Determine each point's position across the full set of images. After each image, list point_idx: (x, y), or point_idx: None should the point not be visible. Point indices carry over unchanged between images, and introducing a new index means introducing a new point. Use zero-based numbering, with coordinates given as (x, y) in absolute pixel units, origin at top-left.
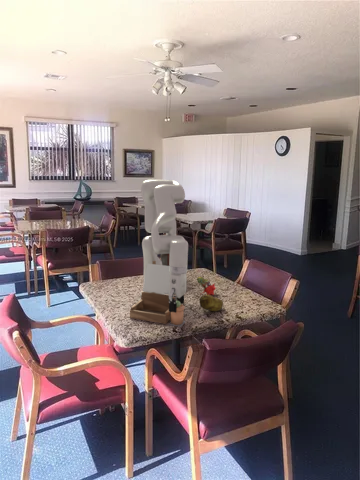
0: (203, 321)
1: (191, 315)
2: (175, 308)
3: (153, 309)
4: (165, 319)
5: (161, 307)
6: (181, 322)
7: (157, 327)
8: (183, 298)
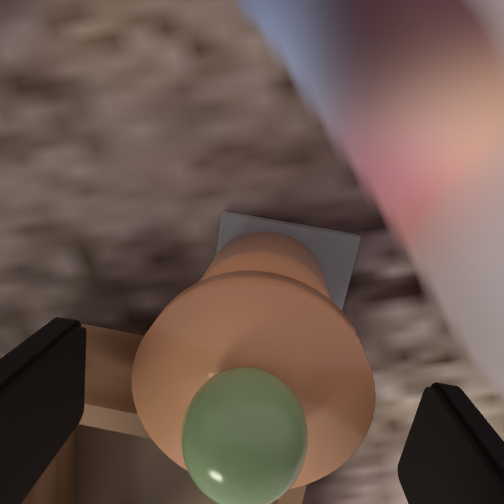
0: (140, 19)
1: (34, 177)
2: (493, 445)
3: (68, 496)
4: None
5: (51, 468)
6: (302, 248)
7: (375, 418)
8: (8, 385)
